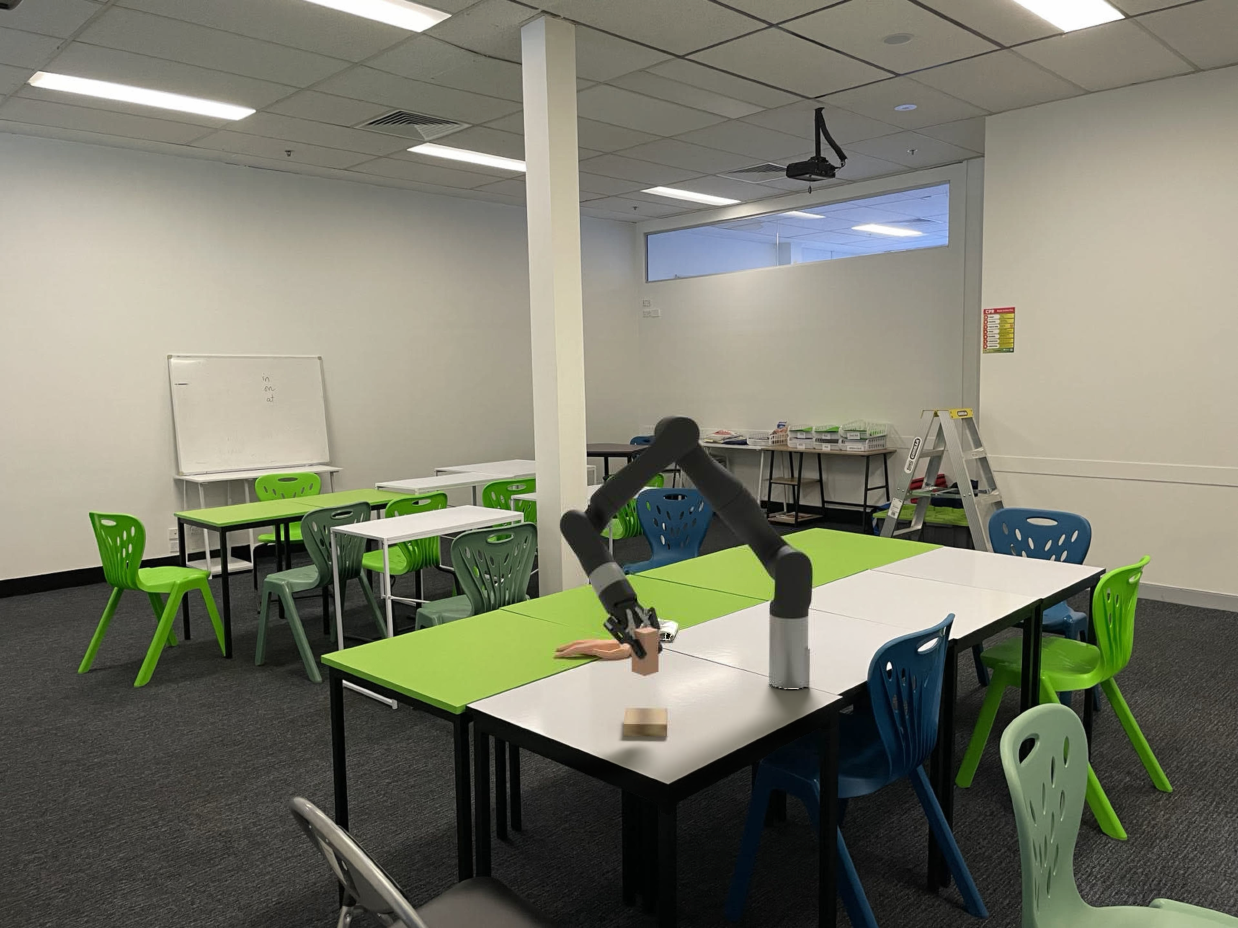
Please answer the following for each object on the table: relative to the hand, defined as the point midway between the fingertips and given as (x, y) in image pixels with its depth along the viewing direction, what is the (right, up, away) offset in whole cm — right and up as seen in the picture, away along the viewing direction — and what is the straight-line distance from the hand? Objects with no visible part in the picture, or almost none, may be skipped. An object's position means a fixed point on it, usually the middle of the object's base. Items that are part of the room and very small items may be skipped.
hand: (651, 654), depth 180 cm
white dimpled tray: (+3, -11, +73) cm, 74 cm away
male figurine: (-12, -12, +55) cm, 57 cm away
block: (-1, -4, +2) cm, 5 cm away
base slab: (-1, -16, +3) cm, 17 cm away
